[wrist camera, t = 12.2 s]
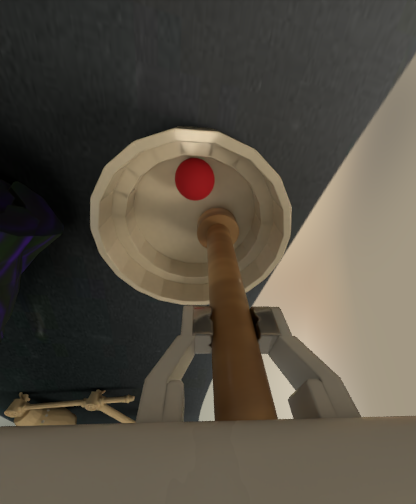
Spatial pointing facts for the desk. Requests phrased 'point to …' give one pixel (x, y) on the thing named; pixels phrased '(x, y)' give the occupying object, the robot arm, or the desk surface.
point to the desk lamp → (63, 410)
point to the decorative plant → (21, 238)
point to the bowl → (186, 213)
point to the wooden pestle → (232, 327)
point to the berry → (194, 179)
